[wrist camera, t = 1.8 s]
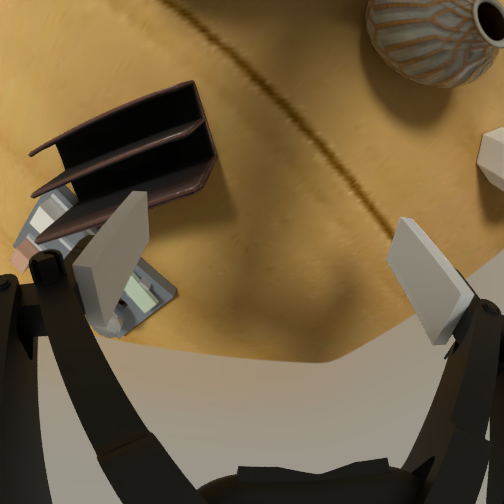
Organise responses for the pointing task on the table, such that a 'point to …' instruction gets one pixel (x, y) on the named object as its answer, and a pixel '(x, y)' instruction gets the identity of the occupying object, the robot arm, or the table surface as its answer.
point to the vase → (437, 38)
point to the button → (112, 323)
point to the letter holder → (132, 157)
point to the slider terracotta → (23, 255)
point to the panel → (139, 270)
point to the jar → (493, 157)
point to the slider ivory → (46, 215)
